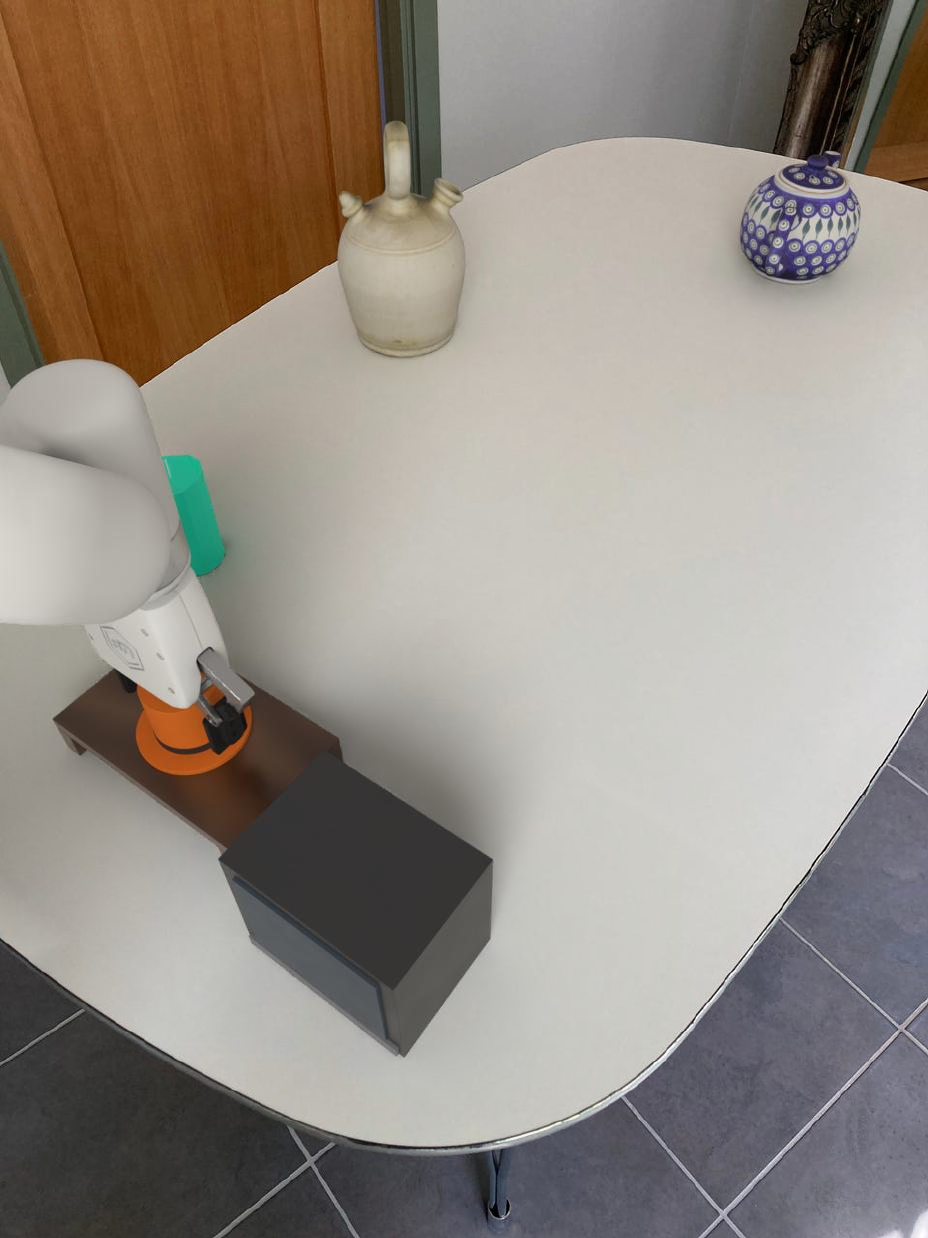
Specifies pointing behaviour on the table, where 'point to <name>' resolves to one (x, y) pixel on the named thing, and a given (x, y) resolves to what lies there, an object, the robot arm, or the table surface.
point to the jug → (402, 259)
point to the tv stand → (213, 797)
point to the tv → (362, 899)
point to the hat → (181, 735)
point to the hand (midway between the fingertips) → (185, 709)
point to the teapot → (801, 221)
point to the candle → (195, 512)
